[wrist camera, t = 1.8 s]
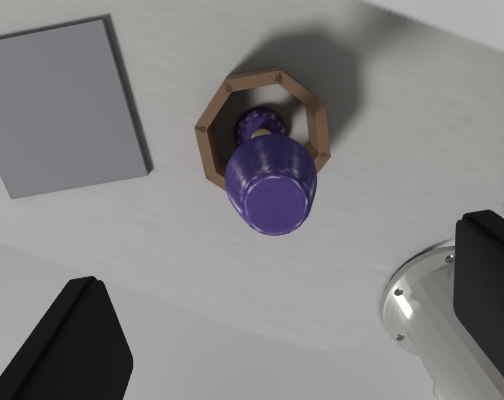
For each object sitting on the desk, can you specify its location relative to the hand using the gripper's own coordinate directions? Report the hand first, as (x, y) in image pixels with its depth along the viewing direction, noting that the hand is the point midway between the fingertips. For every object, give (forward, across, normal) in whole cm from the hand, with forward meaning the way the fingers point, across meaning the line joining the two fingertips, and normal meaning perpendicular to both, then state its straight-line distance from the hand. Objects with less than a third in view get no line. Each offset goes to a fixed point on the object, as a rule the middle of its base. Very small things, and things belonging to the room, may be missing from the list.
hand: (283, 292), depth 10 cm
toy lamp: (+23, 0, +1) cm, 23 cm away
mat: (+23, +16, -3) cm, 28 cm away
